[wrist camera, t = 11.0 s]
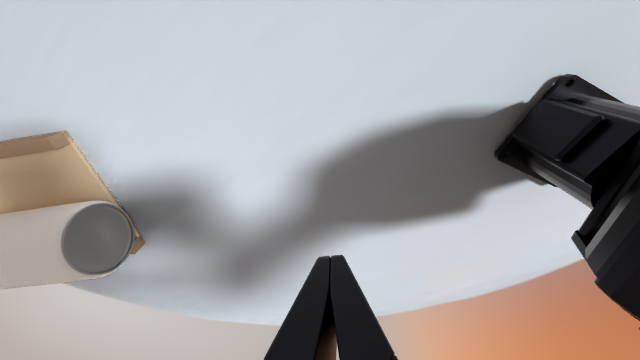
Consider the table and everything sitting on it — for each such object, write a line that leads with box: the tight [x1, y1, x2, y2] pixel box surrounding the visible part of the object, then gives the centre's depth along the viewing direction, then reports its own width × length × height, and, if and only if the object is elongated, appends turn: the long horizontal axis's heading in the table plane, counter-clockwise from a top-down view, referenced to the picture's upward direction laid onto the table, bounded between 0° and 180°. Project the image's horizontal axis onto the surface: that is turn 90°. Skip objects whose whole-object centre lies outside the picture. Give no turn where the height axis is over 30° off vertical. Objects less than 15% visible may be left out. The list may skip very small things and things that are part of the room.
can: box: [0, 200, 135, 289], centre depth 21 cm, size 6×6×12 cm
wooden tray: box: [0, 131, 145, 254], centre depth 22 cm, size 14×12×2 cm
